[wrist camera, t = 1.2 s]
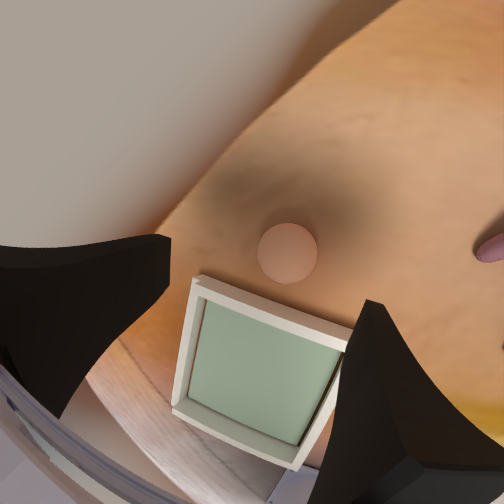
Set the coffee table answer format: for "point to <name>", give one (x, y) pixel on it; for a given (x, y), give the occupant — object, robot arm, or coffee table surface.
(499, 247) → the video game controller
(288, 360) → the mat
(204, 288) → the tray
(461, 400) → the coffee table surface
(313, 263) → the ball
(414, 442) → the robot arm
